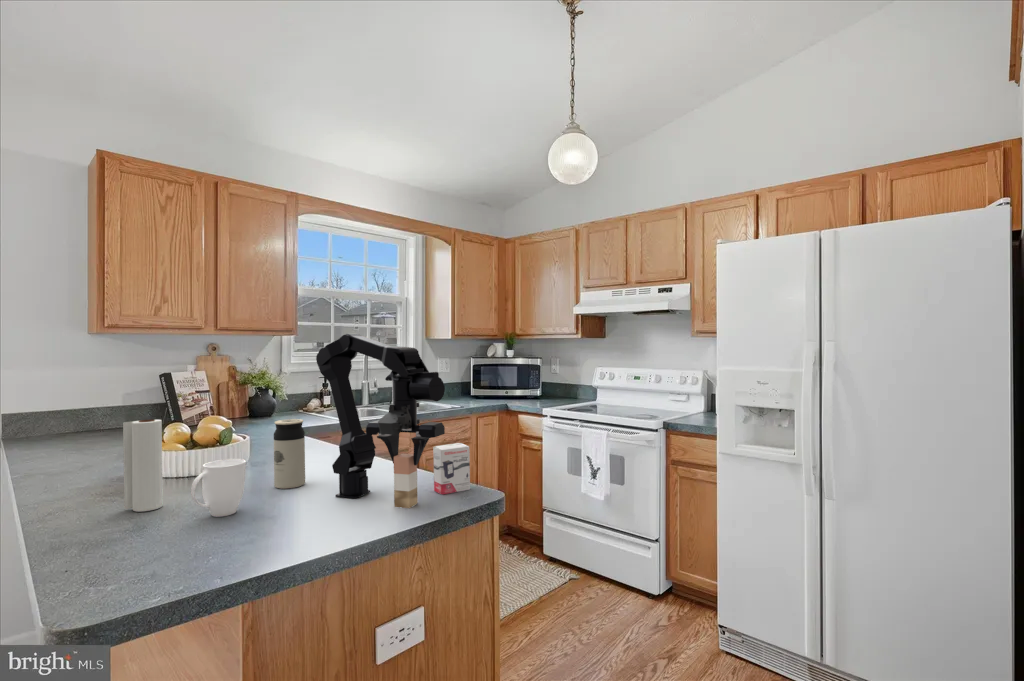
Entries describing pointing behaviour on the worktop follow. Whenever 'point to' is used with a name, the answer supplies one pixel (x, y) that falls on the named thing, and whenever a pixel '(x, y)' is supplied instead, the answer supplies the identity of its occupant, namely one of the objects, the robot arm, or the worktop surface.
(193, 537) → the worktop surface
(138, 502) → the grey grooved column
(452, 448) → the ink box
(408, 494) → the oak block
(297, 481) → the travel mug
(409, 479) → the cream block
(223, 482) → the mug
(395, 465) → the terracotta block
